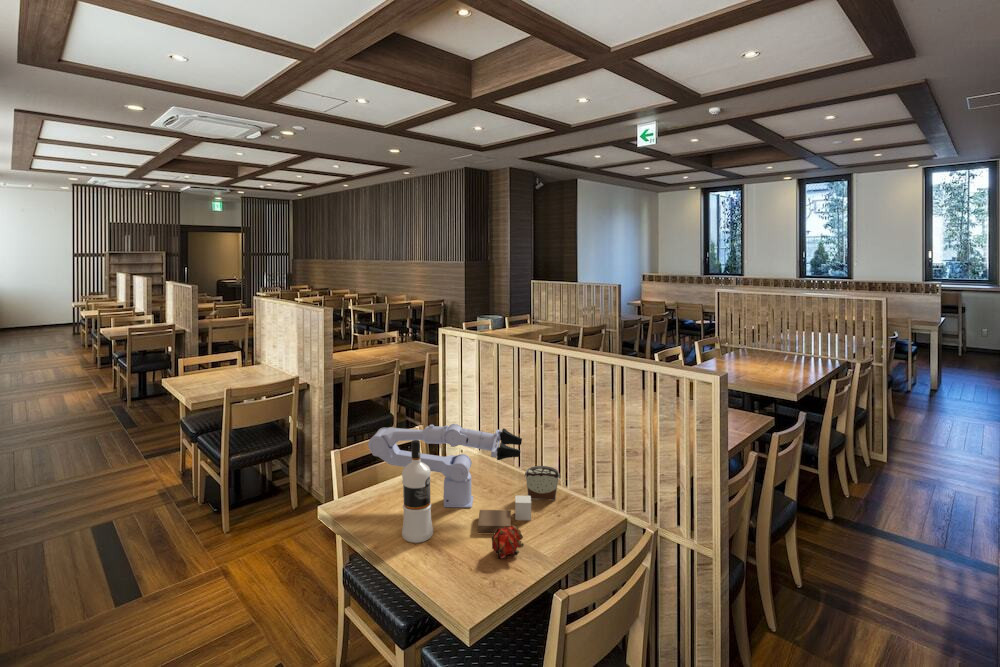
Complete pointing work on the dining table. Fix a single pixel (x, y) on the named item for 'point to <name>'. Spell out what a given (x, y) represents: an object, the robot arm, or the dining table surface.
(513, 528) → the dragon fruit
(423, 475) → the vodka
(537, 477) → the food container
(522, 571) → the dining table surface
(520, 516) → the ceramic block
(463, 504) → the robot arm
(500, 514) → the block
